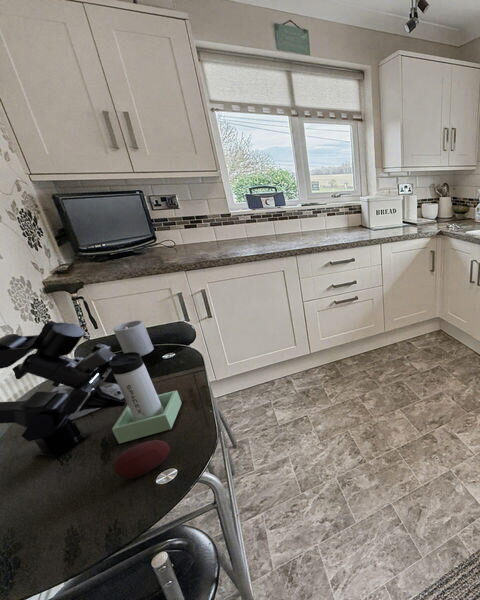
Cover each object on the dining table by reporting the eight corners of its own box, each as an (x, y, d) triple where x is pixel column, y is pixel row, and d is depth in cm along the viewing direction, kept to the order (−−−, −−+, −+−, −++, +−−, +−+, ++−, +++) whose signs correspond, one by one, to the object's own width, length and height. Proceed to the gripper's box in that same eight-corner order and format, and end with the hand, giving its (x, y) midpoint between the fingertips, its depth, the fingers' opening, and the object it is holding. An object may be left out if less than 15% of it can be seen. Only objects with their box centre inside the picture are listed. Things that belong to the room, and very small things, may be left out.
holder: (118, 443, 82) (111, 429, 80) (135, 415, 92) (129, 402, 91) (171, 429, 86) (165, 414, 84) (181, 403, 96) (176, 390, 94)
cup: (140, 358, 125) (128, 330, 121) (119, 358, 126) (107, 330, 122) (159, 346, 134) (148, 319, 129) (139, 347, 135) (128, 320, 130)
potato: (121, 470, 74) (110, 449, 72) (173, 447, 79) (164, 427, 77) (118, 492, 68) (106, 471, 66) (174, 466, 74) (165, 445, 71)
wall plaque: (128, 398, 101) (124, 387, 99) (42, 431, 89) (35, 420, 88) (124, 370, 117) (119, 360, 116) (50, 395, 106) (45, 385, 104)
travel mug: (154, 410, 93) (128, 348, 85) (170, 414, 90) (144, 351, 83) (131, 425, 87) (100, 361, 80) (147, 430, 85) (117, 364, 78)
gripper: (55, 360, 69) (136, 389, 76) (96, 327, 86) (159, 353, 93) (26, 401, 69) (109, 426, 77) (72, 360, 86) (137, 384, 93)
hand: (131, 394), depth 85 cm, fingers open, 9 cm apart
